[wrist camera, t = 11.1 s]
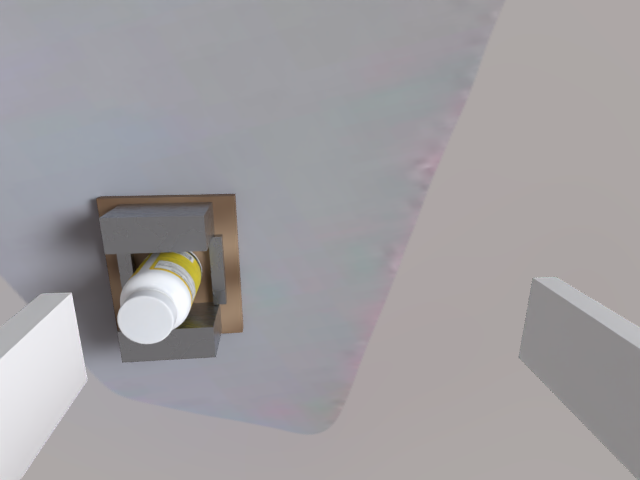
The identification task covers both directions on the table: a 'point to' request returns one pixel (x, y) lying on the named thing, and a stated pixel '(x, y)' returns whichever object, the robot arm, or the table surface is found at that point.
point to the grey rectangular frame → (169, 236)
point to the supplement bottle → (159, 296)
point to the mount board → (222, 225)
